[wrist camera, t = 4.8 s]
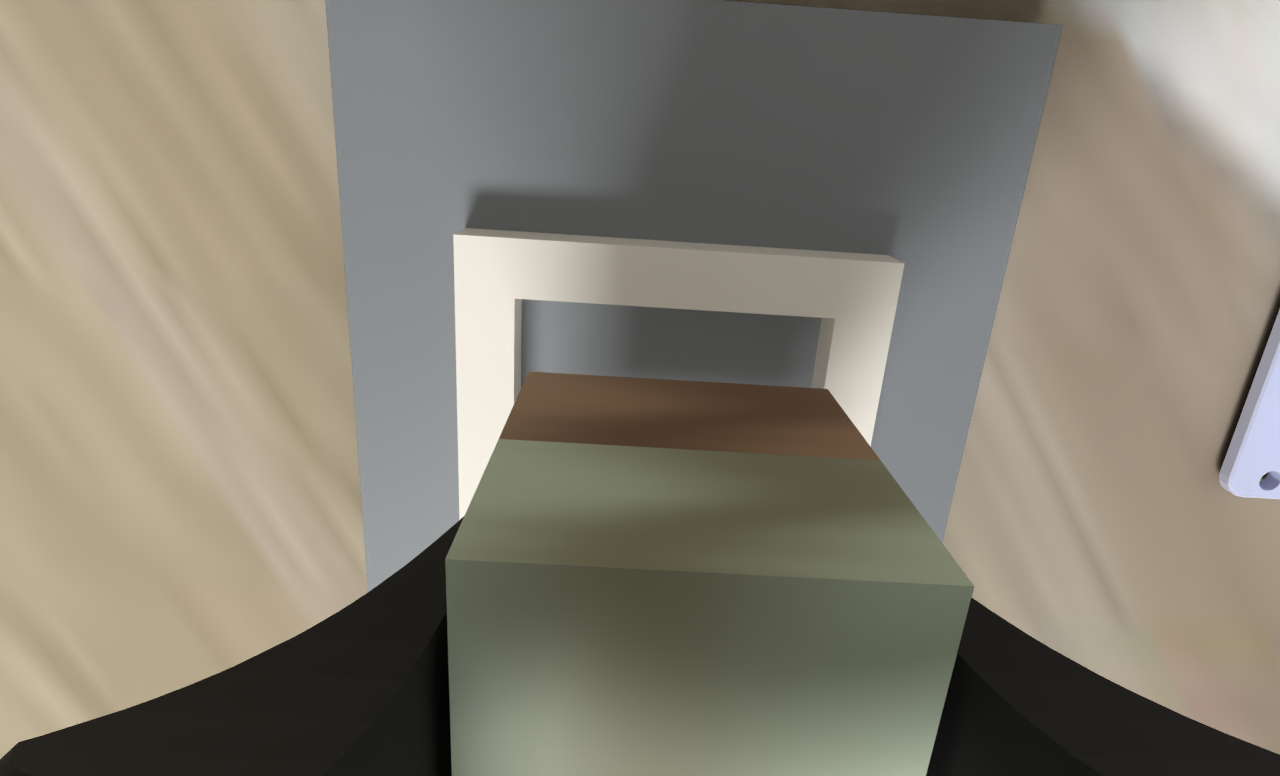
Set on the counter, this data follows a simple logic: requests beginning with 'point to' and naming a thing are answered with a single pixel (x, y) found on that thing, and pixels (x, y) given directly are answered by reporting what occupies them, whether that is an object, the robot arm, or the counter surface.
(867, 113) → the pocket board
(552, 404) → the block stack
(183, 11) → the counter surface
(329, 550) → the counter surface
